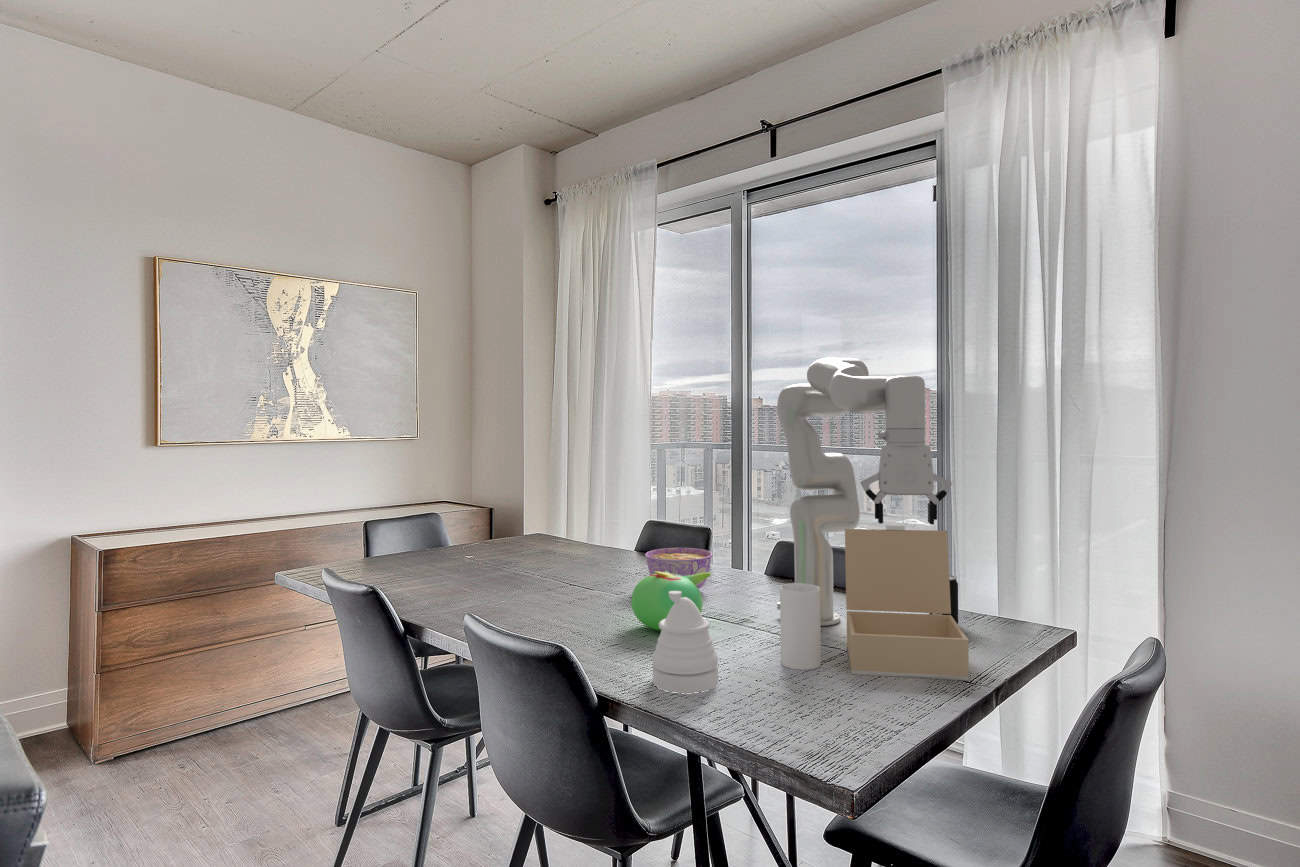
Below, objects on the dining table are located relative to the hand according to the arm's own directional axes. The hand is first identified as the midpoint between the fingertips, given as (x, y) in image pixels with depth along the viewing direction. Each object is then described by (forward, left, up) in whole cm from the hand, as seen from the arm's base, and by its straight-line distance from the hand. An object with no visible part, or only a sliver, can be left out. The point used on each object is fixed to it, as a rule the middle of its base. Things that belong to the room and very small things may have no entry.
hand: (905, 523), depth 148 cm
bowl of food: (-57, +60, -30) cm, 88 cm away
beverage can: (+13, +36, -30) cm, 49 cm away
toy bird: (-53, +22, -30) cm, 65 cm away
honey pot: (-43, -13, -30) cm, 54 cm away
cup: (-21, +2, -30) cm, 37 cm away
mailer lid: (0, +17, -13) cm, 21 cm away
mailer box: (0, +6, -30) cm, 31 cm away
